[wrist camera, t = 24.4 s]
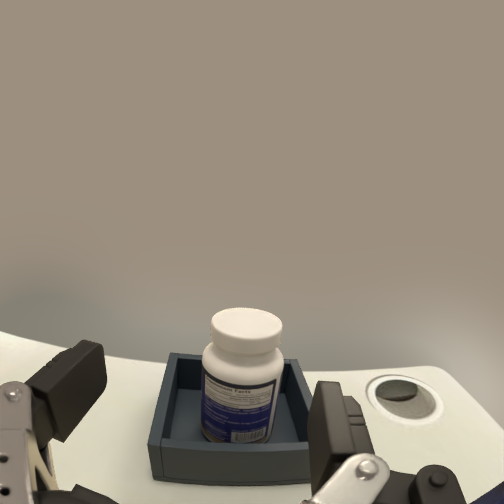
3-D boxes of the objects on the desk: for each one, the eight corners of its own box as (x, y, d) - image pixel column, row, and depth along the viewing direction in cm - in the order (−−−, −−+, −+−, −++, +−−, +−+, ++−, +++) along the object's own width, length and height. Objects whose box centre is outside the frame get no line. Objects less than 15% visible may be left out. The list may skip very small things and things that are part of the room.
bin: (153, 479, 17) (147, 444, 16) (170, 386, 28) (170, 352, 27) (319, 481, 18) (333, 447, 17) (290, 392, 29) (297, 358, 28)
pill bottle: (223, 399, 27) (231, 298, 24) (282, 421, 24) (302, 317, 22) (185, 434, 21) (186, 322, 19) (252, 464, 19) (270, 351, 17)
